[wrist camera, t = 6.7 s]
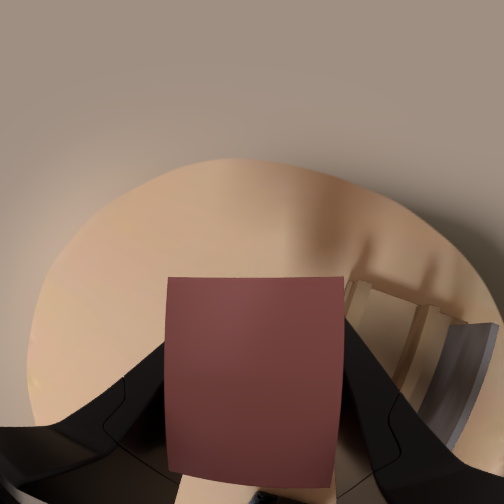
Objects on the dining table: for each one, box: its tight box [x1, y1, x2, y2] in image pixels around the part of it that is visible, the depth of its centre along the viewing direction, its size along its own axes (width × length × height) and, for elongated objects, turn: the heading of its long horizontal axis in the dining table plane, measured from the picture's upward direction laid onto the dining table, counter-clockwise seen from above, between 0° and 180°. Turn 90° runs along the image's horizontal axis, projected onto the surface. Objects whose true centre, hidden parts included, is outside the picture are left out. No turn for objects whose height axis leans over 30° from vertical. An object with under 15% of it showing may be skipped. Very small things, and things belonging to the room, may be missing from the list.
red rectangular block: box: [164, 277, 344, 488], centre depth 9 cm, size 4×4×10 cm
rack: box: [344, 280, 499, 451], centre depth 15 cm, size 10×12×7 cm
